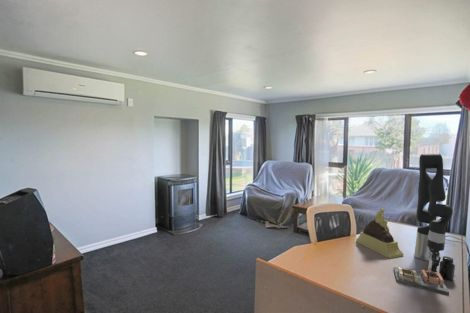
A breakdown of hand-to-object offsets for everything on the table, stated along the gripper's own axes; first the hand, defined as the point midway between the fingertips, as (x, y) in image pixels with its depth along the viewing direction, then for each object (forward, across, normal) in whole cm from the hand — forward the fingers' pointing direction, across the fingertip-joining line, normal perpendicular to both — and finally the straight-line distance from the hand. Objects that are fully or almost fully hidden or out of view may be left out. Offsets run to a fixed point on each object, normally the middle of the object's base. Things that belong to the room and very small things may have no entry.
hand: (432, 269), depth 145 cm
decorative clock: (+8, -36, -24) cm, 44 cm away
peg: (+4, 0, 0) cm, 4 cm away
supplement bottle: (+8, -11, +9) cm, 16 cm away
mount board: (+7, +2, -6) cm, 10 cm away
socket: (+6, 0, 0) cm, 6 cm away
